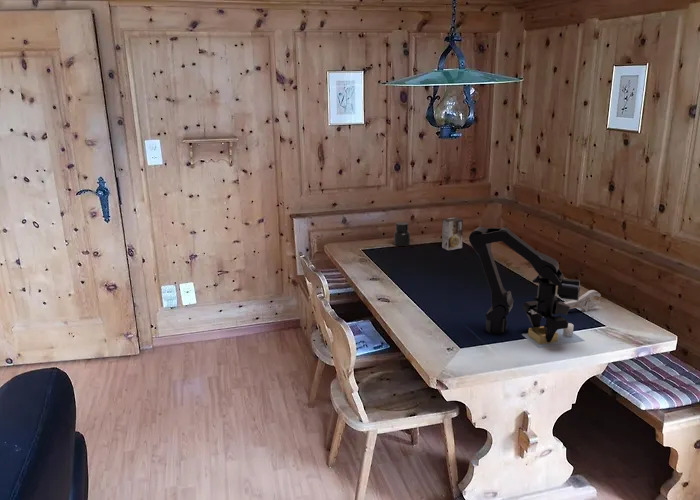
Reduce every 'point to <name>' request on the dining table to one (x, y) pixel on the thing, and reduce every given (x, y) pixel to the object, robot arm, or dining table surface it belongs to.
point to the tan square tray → (541, 335)
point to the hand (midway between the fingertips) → (542, 337)
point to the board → (560, 337)
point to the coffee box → (452, 233)
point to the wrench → (584, 301)
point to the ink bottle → (402, 234)
